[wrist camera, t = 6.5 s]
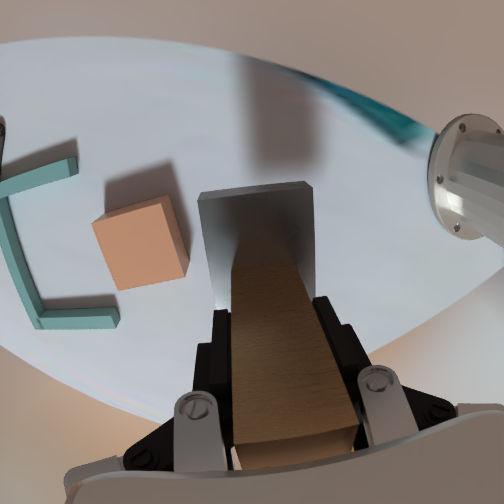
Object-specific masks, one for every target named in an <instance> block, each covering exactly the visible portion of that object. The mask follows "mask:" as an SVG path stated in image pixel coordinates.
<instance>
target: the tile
mask: <svg viewBox="0 0 504 504" xmlns="http://www.w3.org/2000/svg"><path fill="white" fill-rule="evenodd" d="M91 224H92V227H93V230H94V233H95V235H96V238H97V241H98V243H99V246H100V248H101V251H102V253H103V256H104V258H105V261H106V263H107V266H108V268H109V271H110V273H111V275H112V278H113V280H114V282H115V285H116V287H117V289H118V291H120V290H125V289H130V288H135V287H140V286H144V285H149V284H154V283H159V282H164V281H169V280H174V279H179V278H183V277H185V275H186V272H187V269H188V266H189V263H190V261H189V258H188V255H187V252H186V249H185V246H184V243H183V239H182V236H181V233H180V230H179V227H178V223H177V220H176V217H175V214H174V210H173V207H172V203H171V200H170V197H169V195H165V196H161V197H158V198H154V199H150V200H147V201H143V202H140V203H137V204H133V205H130V206H127V207H123V208H120V209H117V210H113V211H110V212H107V213H104V214H103V215H102V216H100V217H99V218H98V219H96V220H95V221H94V222H93V223H91Z"/></svg>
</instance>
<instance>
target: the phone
mask: <svg viewBox="0 0 504 504" xmlns="http://www.w3.org/2000/svg"><path fill="white" fill-rule="evenodd" d="M4 141H5V128H4V126H3V125H2V124H0V173H1V164H2V155H3V148H4Z"/></svg>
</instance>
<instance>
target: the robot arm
mask: <svg viewBox="0 0 504 504" xmlns="http://www.w3.org/2000/svg"><path fill="white" fill-rule="evenodd" d="M428 190H429V197H430V202H431V206H432V209H433V211H434V214H435V216H436V218H437V219H438V221H439V223H440V224H441V225H442V226H443V227H444V228H445V229H446V230H447V231H448V232H449V233H451V234H452V235H454V236H456V237H458V238H460V239H464V240H474V239H478V238H481V237H483V236H485V237H487V238H489V239H490V240H492V241H493V242H495V243H497V244H498V245H500V246H501V247H503V248H504V131H503V130H502V128H501V127H500V126H499V125H498V124H497V123H496V122H495V121H493V120H492V119H490V118H489V117H486V116H483V115H480V114H464V115H461V116H459V117H457V118H455V119H453V120H452V121H451V122H450V123H448V124H447V126H446V127H445V128H444V129H443V130H442V132H441V133H440V135H439V137H438V139H437V141H436V142H435V145H434V148H433V151H432V154H431V158H430V163H429V171H428ZM311 303H312V305H313V307H314V310H315V312H316V315H317V317H318V320H319V322H320V324H321V327H322V329H323V332H324V334H325V337H326V339H327V342H328V344H329V347H330V349H331V351H332V354H333V356H334V359H335V362H336V364H337V367H338V369H339V372H340V374H341V377H342V379H343V382H344V384H345V387H346V390H347V392H348V395H349V397H350V400H351V403H352V405H353V408H354V411H355V413H356V416H357V419H358V421H359V427H358V431H357V434H356V437H355V440H354V444H353V447H352V450H351V452H350V453H346V454H342V455H338V456H333V457H328V458H324V459H319V460H313V461H308V462H302V463H296V464H290V465H283V466H275V467H267V468H257V469H246V470H235V464H234V458H233V451H232V447H233V446H234V436H233V401H232V350H231V312H228V309H220V310H214V315H213V328H212V342H210V343H199V344H198V346H197V354H196V362H195V371H194V380H193V390H192V392H188V393H186V394H184V395H183V396H181V397H180V398H179V399H178V400H177V402H176V403H175V407H174V417H173V418H171V419H170V420H168V421H167V422H166V423H164V424H163V425H161V426H160V427H159V428H157V429H156V430H154V431H153V432H151V433H150V434H149V435H147V436H146V437H144V438H143V439H141V440H140V441H138V442H137V443H135V444H134V445H132V446H131V447H130V448H129V449H127V451H126V452H125V454H124V456H121V457H117V455H115V456H112V457H109V458H105V459H102V460H99V461H95V462H92V463H88V464H85V465H81V466H77V467H74V468H72V469H70V470H69V471H68V472H67V473H66V474H65V477H64V487H65V491H66V496H67V499H66V502H65V504H504V406H503V405H501V404H464V403H461V404H460V403H458V404H457V406H453V405H452V404H451V403H450V402H449V401H447V400H445V399H442V398H439V397H436V396H433V395H429V394H426V393H423V392H420V391H417V390H414V389H411V388H408V387H405V386H402V385H401V384H400V382H399V379H398V377H397V375H396V373H395V372H394V371H393V370H392V369H390V368H388V367H386V366H382V365H372V364H371V362H370V360H369V358H368V356H367V354H366V353H365V351H364V349H363V347H362V345H361V343H360V341H359V339H358V337H357V335H356V333H355V332H354V330H353V328H352V326H351V325H350V324H344V325H341V323H340V321H339V319H338V317H337V315H336V313H335V311H334V309H333V307H332V305H331V303H330V301H329V299H328V297H327V296H322V297H315V298H313V300H312V302H311Z"/></svg>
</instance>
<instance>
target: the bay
mask: <svg viewBox="0 0 504 504" xmlns="http://www.w3.org/2000/svg"><path fill="white" fill-rule="evenodd" d="M76 174H78V168H77V163H76V157H71V158H68V159H64V160H61V161H58V162H55V163H52V164H49V165H46V166H43V167H40V168H37V169H34V170H31V171H28V172H26V173H23V174H20V175H17V176H15V177H12V178H9V179H7V180H4V181H2V182H0V245H1V248H2V251H3V254H4V257H5V260H6V263H7V266H8V268H9V271H10V274H11V276H12V279H13V281H14V284H15V286H16V289H17V291H18V294H19V296H20V298H21V300H22V303H23V305H24V307H25V309H26V312H27V314H28V316H29V318H30V320H31V322H32V324H33V326H34V328H35V329H115V328H116V327H117V325H118V323H119V321H120V317H119V314H118V312H117V309H116V307H105V308H87V309H66V310H44V307H43V305H42V303H41V301H40V298H39V296H38V293H37V291H36V289H35V286H34V284H33V281H32V278H31V276H30V273H29V270H28V268H27V265H26V262H25V259H24V256H23V254H22V251H21V247H20V244H19V241H18V238H17V235H16V231H15V228H14V225H13V221H12V217H11V214H10V210H9V206H8V202H7V197H6V196H9V195H12V194H15V193H18V192H21V191H24V190H27V189H30V188H34V187H37V186H40V185H43V184H47V183H50V182H53V181H57V180H60V179H64V178H68V177H71V176H73V175H76Z"/></svg>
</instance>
